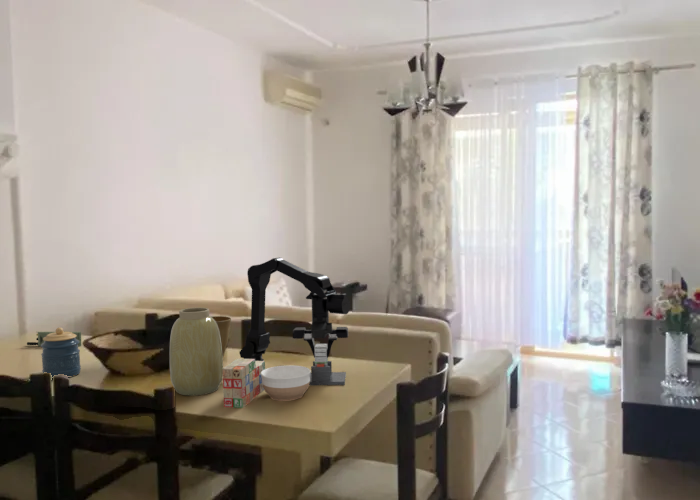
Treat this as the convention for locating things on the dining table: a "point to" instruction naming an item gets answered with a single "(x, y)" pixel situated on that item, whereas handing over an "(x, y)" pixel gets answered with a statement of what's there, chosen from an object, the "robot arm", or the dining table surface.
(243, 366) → the stack of blocks
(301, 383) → the bowl
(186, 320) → the vase
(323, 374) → the grey stepped stand
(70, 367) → the canister
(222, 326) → the plant pot
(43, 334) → the handheld radio
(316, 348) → the column
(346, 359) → the dining table surface
